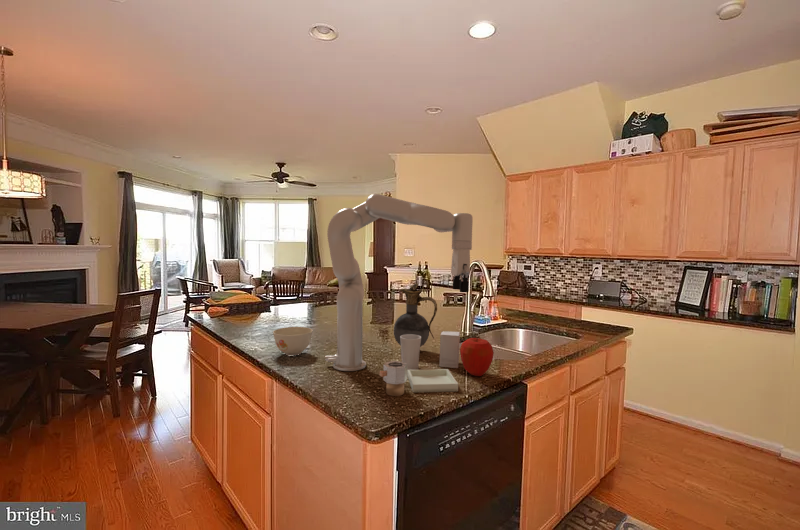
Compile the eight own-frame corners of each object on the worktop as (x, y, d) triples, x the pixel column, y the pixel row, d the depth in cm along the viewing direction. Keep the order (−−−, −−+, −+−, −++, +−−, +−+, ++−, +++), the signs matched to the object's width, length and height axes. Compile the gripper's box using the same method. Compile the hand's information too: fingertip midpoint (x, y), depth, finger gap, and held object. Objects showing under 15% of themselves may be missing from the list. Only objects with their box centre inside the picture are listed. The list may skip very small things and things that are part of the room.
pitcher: (397, 346, 175) (398, 281, 174) (438, 350, 170) (440, 283, 168) (390, 352, 165) (391, 283, 164) (433, 357, 160) (435, 286, 158)
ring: (400, 375, 125) (400, 360, 125) (410, 382, 119) (410, 366, 118) (376, 378, 121) (376, 363, 121) (385, 386, 115) (385, 369, 115)
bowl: (266, 353, 161) (266, 330, 160) (301, 347, 171) (301, 325, 171) (283, 362, 149) (283, 337, 148) (319, 355, 159) (319, 331, 159)
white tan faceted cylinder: (386, 396, 117) (387, 367, 117) (385, 389, 123) (386, 361, 122) (404, 395, 118) (405, 367, 118) (402, 388, 124) (403, 361, 123)
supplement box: (458, 368, 145) (459, 335, 145) (438, 366, 147) (439, 334, 146) (459, 362, 153) (460, 331, 152) (440, 361, 154) (441, 330, 154)
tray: (413, 392, 121) (413, 384, 121) (407, 376, 135) (407, 369, 135) (458, 391, 122) (458, 383, 122) (447, 375, 137) (447, 369, 137)
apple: (454, 370, 143) (455, 333, 143) (483, 368, 146) (484, 332, 145) (467, 381, 131) (468, 341, 131) (499, 379, 134) (500, 340, 133)
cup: (405, 372, 140) (406, 340, 139) (396, 366, 147) (396, 335, 146) (424, 369, 143) (425, 338, 143) (414, 363, 151) (414, 333, 150)
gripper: (446, 245, 153) (445, 288, 154) (458, 245, 136) (456, 293, 137) (464, 246, 154) (463, 288, 155) (478, 246, 137) (477, 293, 138)
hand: (460, 290), depth 146 cm, fingers open, 9 cm apart
